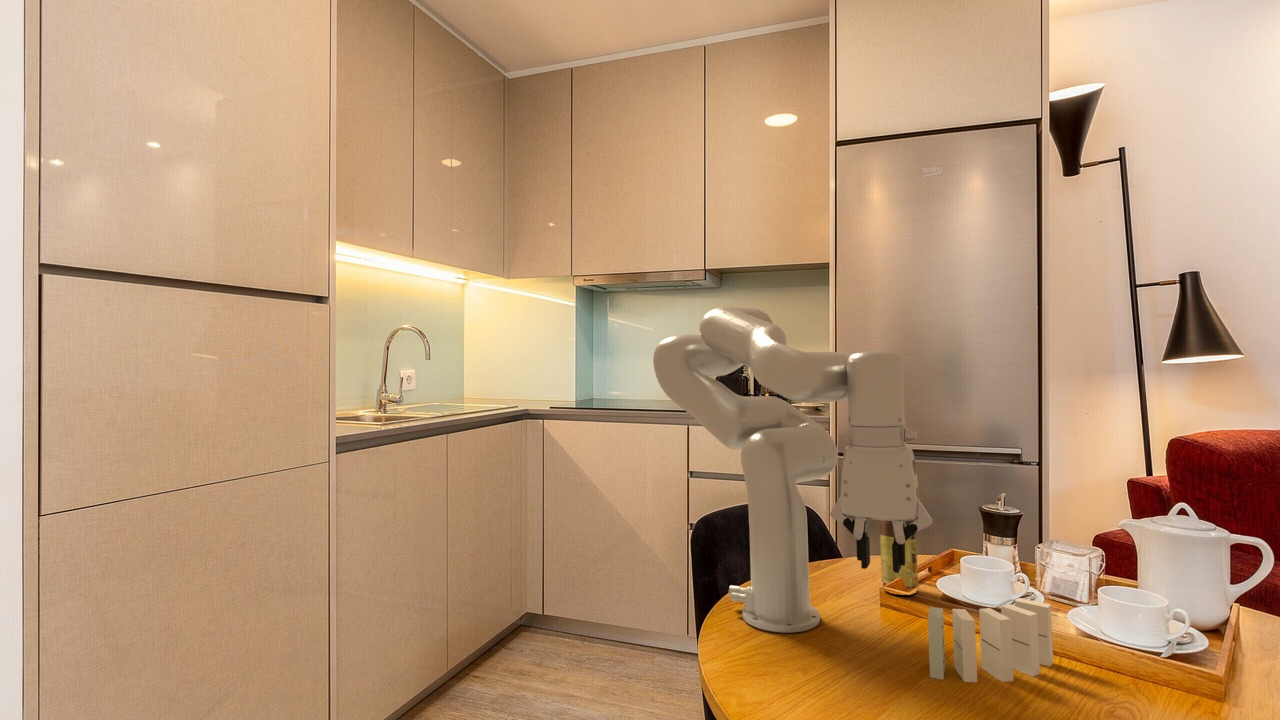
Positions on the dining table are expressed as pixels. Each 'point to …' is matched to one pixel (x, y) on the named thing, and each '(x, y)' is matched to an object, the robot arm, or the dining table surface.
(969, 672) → the domino
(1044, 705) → the dining table surface
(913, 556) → the sauce bottle
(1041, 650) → the domino
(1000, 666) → the domino
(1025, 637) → the domino
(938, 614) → the sage domino
